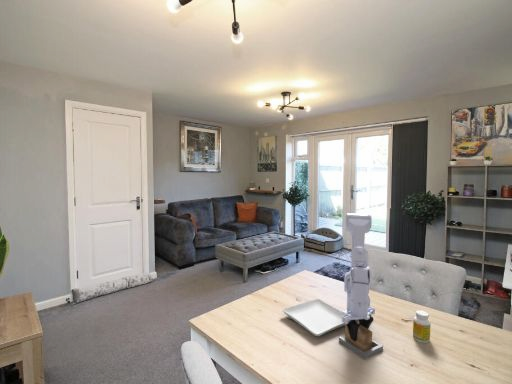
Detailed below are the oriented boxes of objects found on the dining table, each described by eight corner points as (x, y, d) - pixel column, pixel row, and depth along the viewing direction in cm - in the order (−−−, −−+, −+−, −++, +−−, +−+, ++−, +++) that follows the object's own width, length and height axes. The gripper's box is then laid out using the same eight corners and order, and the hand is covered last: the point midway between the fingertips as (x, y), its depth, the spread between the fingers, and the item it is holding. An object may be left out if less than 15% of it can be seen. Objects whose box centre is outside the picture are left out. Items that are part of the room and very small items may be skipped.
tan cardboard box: (353, 336, 102) (353, 320, 102) (371, 348, 95) (372, 331, 95) (344, 340, 100) (345, 324, 100) (363, 352, 93) (363, 335, 93)
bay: (357, 333, 104) (357, 330, 104) (382, 350, 94) (383, 345, 94) (338, 341, 99) (338, 337, 99) (364, 359, 90) (364, 354, 90)
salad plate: (355, 326, 110) (355, 317, 110) (316, 343, 99) (316, 334, 99) (317, 304, 128) (317, 297, 128) (281, 317, 117) (281, 309, 117)
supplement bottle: (424, 344, 98) (425, 318, 97) (409, 336, 102) (410, 311, 102) (433, 340, 100) (434, 314, 99) (418, 332, 105) (419, 308, 104)
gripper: (353, 310, 90) (352, 350, 91) (382, 300, 97) (381, 337, 98) (337, 301, 96) (336, 338, 97) (365, 292, 103) (364, 327, 104)
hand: (358, 337), depth 98 cm, fingers closed on tan cardboard box, 4 cm apart
